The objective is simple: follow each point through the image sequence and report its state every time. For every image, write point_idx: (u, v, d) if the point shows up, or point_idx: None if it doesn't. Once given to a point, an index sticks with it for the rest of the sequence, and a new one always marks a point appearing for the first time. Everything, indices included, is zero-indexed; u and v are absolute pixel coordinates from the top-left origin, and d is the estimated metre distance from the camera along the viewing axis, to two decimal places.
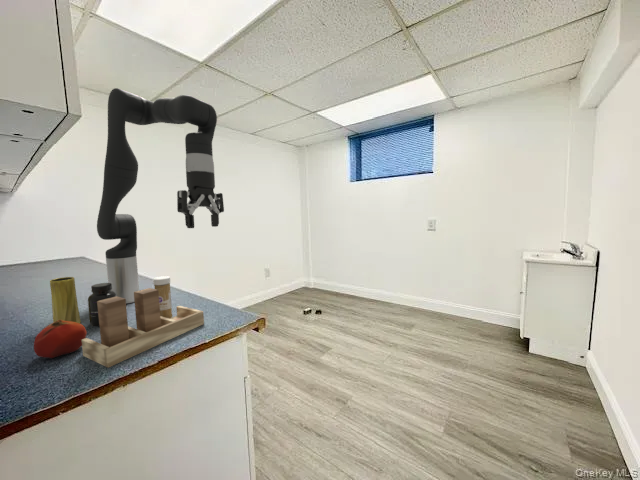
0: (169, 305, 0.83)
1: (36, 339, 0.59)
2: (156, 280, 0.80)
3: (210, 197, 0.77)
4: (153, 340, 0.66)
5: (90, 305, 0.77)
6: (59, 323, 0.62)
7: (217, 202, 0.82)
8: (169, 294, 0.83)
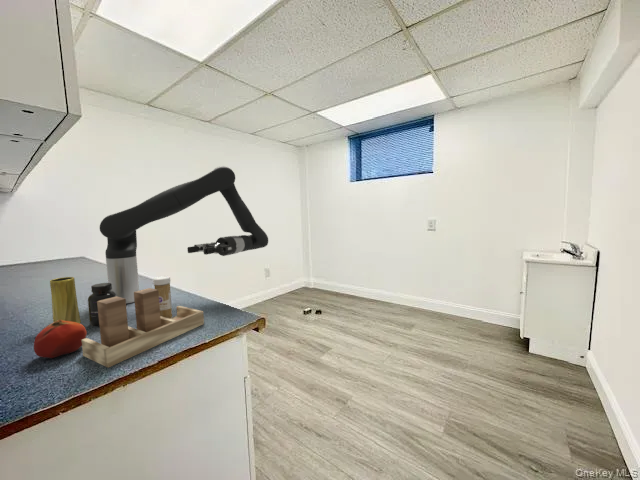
0: (169, 305, 0.83)
1: (36, 339, 0.59)
2: (156, 280, 0.80)
3: None
4: (153, 340, 0.66)
5: (90, 305, 0.77)
6: (59, 323, 0.62)
7: (202, 247, 1.02)
8: (169, 294, 0.83)
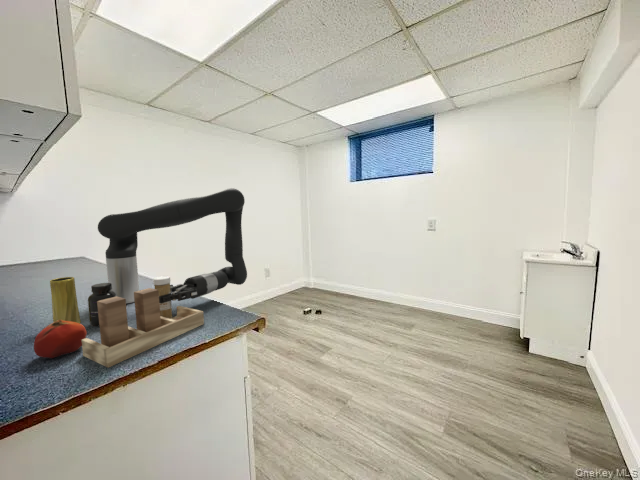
0: (169, 305, 0.83)
1: (36, 339, 0.59)
2: (156, 280, 0.80)
3: None
4: (153, 340, 0.66)
5: (90, 305, 0.77)
6: (59, 323, 0.62)
7: None
8: None
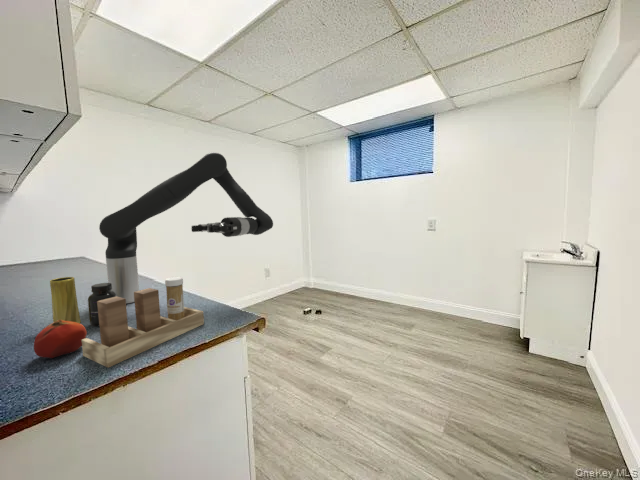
0: (182, 308, 0.77)
1: (36, 339, 0.59)
2: (168, 281, 0.75)
3: (218, 232, 0.99)
4: (153, 340, 0.66)
5: (90, 305, 0.77)
6: (59, 323, 0.62)
7: (206, 227, 0.99)
8: (182, 296, 0.77)
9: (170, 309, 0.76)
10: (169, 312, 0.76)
